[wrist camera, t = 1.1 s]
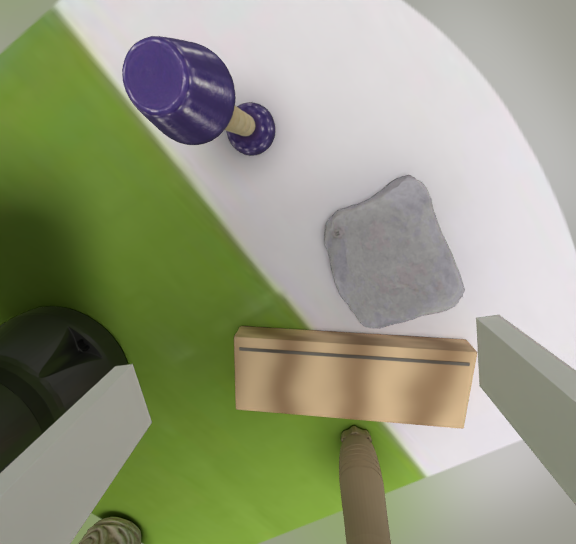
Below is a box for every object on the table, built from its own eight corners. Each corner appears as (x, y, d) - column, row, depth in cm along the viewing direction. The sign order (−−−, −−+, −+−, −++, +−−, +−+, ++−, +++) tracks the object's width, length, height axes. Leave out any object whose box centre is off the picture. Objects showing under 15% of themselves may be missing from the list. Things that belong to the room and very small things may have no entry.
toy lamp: (252, 170, 30) (171, 159, 14) (210, 136, 30) (81, 86, 14) (285, 124, 29) (237, 56, 13) (242, 88, 29) (139, -27, 13)
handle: (354, 467, 38) (373, 645, 23) (319, 426, 37) (316, 585, 22) (391, 447, 36) (435, 622, 22) (356, 404, 36) (378, 557, 21)
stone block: (364, 320, 35) (466, 288, 31) (359, 343, 31) (476, 309, 27) (315, 216, 33) (417, 168, 29) (302, 224, 29) (419, 169, 25)
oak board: (241, 394, 37) (235, 409, 34) (240, 326, 35) (233, 337, 32) (453, 411, 35) (463, 429, 32) (466, 339, 32) (477, 352, 30)
